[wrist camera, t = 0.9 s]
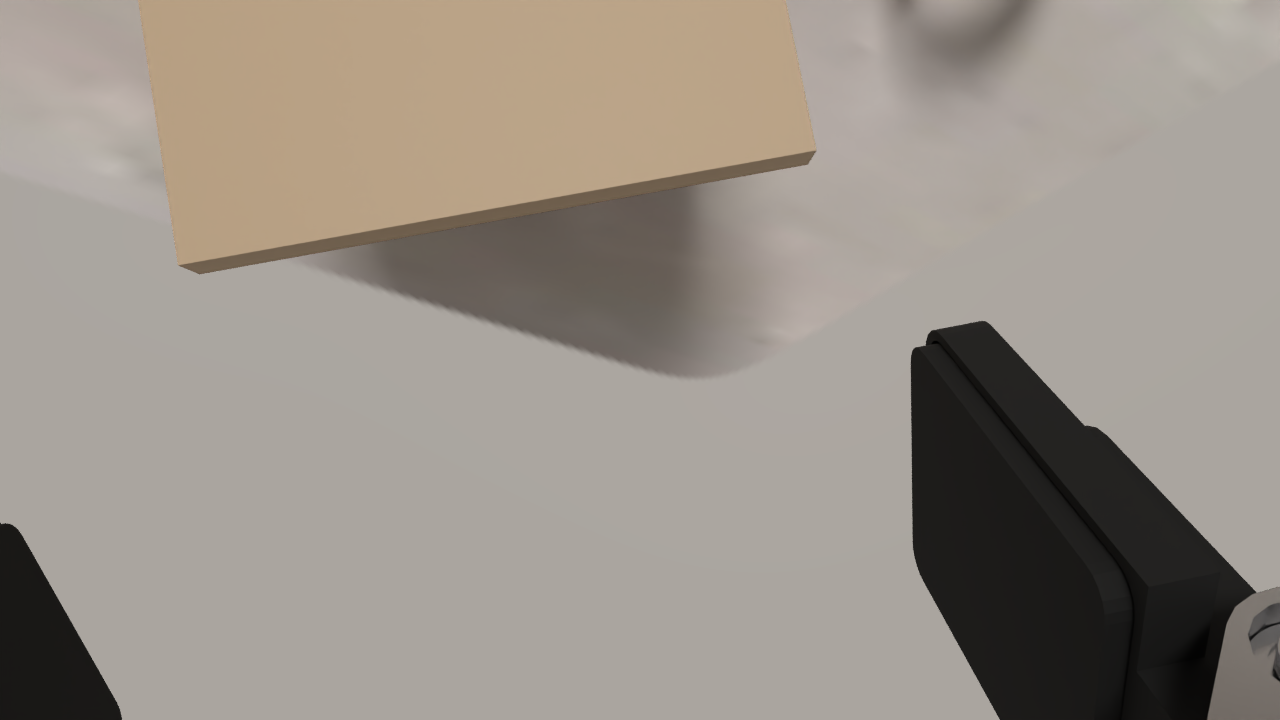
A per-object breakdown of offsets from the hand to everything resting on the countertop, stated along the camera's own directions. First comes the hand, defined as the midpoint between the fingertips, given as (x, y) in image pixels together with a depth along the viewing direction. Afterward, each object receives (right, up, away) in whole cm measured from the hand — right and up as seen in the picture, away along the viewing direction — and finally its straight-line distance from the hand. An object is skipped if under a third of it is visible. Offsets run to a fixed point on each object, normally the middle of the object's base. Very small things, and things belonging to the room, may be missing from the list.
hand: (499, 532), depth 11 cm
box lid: (-2, +10, +10) cm, 14 cm away
